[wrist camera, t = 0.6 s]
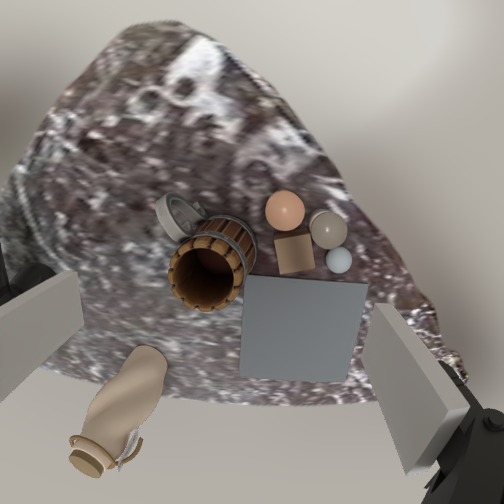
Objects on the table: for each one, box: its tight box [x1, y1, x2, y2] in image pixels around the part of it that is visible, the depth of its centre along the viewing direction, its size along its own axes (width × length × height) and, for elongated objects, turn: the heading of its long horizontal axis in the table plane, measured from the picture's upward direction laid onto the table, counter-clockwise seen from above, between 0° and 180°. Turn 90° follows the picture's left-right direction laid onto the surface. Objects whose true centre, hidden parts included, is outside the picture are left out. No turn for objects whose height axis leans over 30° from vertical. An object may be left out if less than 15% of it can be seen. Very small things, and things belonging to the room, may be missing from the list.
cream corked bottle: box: [69, 345, 167, 478], centre depth 40 cm, size 10×9×28 cm
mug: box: [155, 192, 258, 312], centre depth 39 cm, size 16×11×15 cm
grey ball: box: [326, 247, 352, 273], centre depth 44 cm, size 4×4×4 cm
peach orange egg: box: [265, 190, 305, 231], centre depth 41 cm, size 5×5×7 cm
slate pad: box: [239, 274, 368, 382], centre depth 49 cm, size 20×20×1 cm
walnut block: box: [274, 228, 315, 274], centre depth 44 cm, size 5×5×5 cm
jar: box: [307, 209, 347, 249], centre depth 42 cm, size 5×5×7 cm
